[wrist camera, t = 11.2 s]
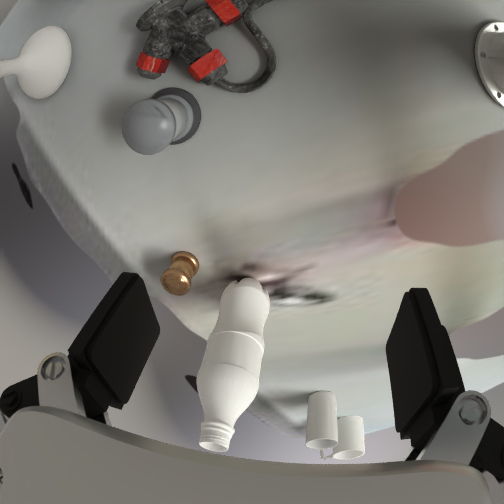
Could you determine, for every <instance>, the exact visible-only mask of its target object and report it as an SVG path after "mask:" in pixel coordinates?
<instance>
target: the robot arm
mask: <svg viewBox="0 0 504 504" xmlns="http://www.w3.org/2000/svg"><path fill="white" fill-rule="evenodd" d="M475 60H476V66H477V69H478V73H479V76H480V78H481V80H482V83H483V85H484V86H485V88H486V90H487V91H488V93H489V94H490V96H491V97H492V98H493V99H494V100H495V101H496V102H497V103H498V104H499V105H501V106H502V107H504V22H491V23H488V24H486V25H485V26H483V27H482V28H481V30H480V31H479V33H478V35H477V38H476V43H475ZM159 334H160V326H159V323H158V321H157V318H156V316H155V313H154V310H153V307H152V304H151V302H150V299H149V296H148V293H147V290H146V287H145V284H144V281H143V279H142V278H141V277H140V276H139V275H138V274H137V273H129V272H123V273H122V274H121V275H120V276H119V277H118V279H117V280H116V281H115V283H114V284H113V285H112V287H111V288H110V290H109V291H108V292H107V294H106V295H105V296H104V298H103V299H102V301H101V302H100V303H99V305H98V306H97V308H96V309H95V310H94V312H93V313H92V315H91V316H90V318H89V319H88V321H87V322H86V324H85V325H84V327H83V328H82V330H81V331H80V333H79V334H78V335H77V337H76V338H75V340H74V341H73V343H72V345H71V346H70V348H69V349H68V351H69V355H68V356H66V355H65V354H63V353H58V352H56V353H52V354H50V355H48V356H46V357H45V358H44V359H43V360H42V361H41V363H40V365H39V367H38V372H37V375H35V376H32V377H30V378H28V379H25V380H23V381H21V382H18V383H16V384H14V385H11V386H10V387H8V388H7V389H5V390H4V391H3V393H2V395H1V397H0V504H504V427H503V426H501V425H500V424H499V423H497V422H496V421H494V420H493V419H492V418H490V417H491V407H490V404H489V402H488V400H487V399H486V397H484V395H482V394H481V393H479V392H477V391H471V390H469V391H465V388H464V384H463V381H462V377H461V374H460V370H459V367H458V363H457V360H456V357H455V354H454V351H453V348H452V345H451V342H450V339H449V336H448V333H447V330H446V328H445V327H444V326H443V325H441V323H440V320H439V317H438V315H437V312H436V309H435V307H434V304H433V302H432V299H431V296H430V294H429V291H428V290H427V289H426V288H411V289H410V290H409V292H405V294H404V296H403V299H402V302H401V305H400V308H399V311H398V314H397V317H396V320H395V322H394V325H393V328H392V330H391V333H390V336H389V338H388V341H387V344H386V355H387V362H388V368H389V375H390V383H391V390H392V398H393V407H394V417H395V427H396V431H397V432H398V433H399V432H400V437H401V440H402V439H411V446H412V448H411V450H410V451H409V452H408V454H407V455H406V457H405V458H404V459H403V461H398V462H386V463H370V464H335V465H334V464H298V463H297V464H296V463H283V462H271V461H261V460H253V459H245V458H238V457H231V456H225V455H219V454H213V453H208V452H202V451H198V450H193V449H188V448H184V447H180V446H176V445H172V444H168V443H164V442H160V441H157V440H153V439H150V438H146V437H143V436H139V435H136V434H133V433H130V432H127V431H123V430H121V429H118V428H115V427H112V426H111V422H110V419H109V416H108V413H107V409H108V406H111V407H114V408H118V409H121V410H122V407H123V405H124V404H126V403H127V402H128V401H129V399H130V397H131V395H132V392H133V390H134V388H135V385H136V383H137V381H138V379H139V377H140V375H141V372H142V370H143V368H144V366H145V364H146V362H147V360H148V357H149V355H150V353H151V351H152V349H153V347H154V345H155V343H156V340H157V339H158V337H159Z"/></svg>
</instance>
